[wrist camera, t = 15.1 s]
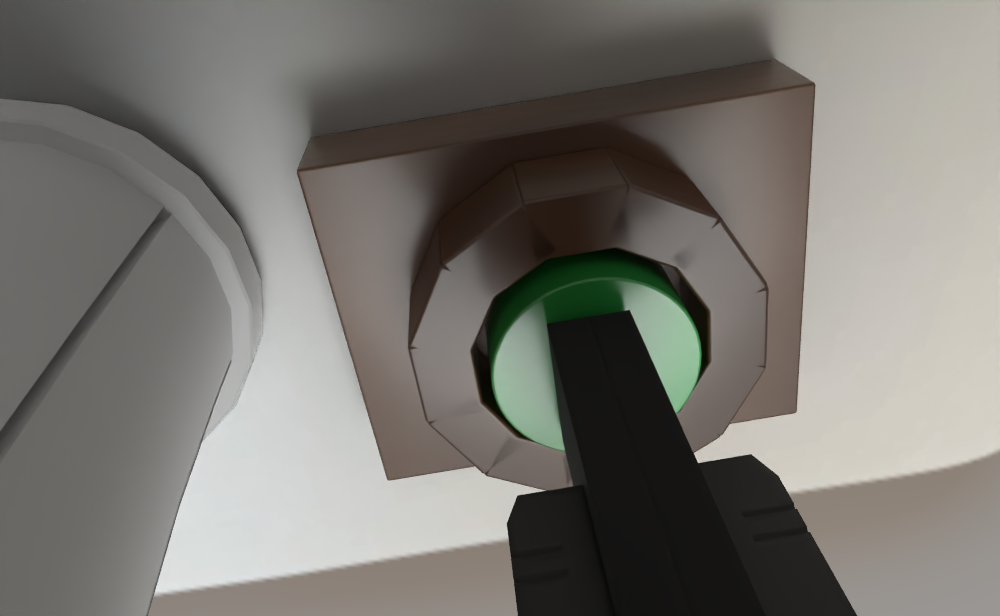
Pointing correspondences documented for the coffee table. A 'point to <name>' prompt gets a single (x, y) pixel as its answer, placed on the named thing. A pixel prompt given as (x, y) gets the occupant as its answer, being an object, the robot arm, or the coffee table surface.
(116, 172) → the cup
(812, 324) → the coffee table surface
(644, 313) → the light button
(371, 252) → the button block
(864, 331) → the coffee table surface
